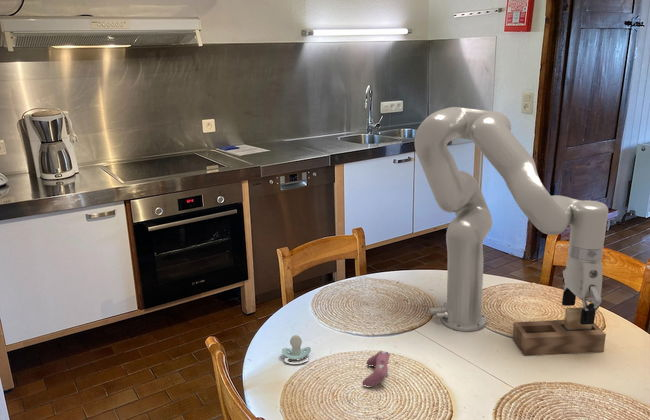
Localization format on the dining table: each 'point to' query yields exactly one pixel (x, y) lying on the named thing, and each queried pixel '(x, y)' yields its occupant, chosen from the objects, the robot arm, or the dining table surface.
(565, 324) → the rail end
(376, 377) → the purple curved piece
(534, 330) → the hollow wooden brick
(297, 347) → the pacifier
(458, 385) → the dining table surface
